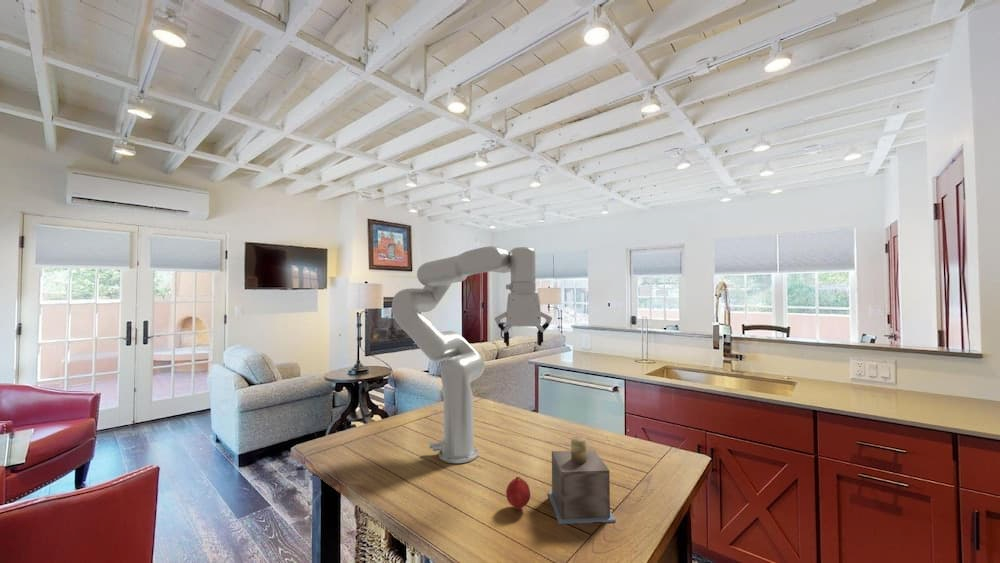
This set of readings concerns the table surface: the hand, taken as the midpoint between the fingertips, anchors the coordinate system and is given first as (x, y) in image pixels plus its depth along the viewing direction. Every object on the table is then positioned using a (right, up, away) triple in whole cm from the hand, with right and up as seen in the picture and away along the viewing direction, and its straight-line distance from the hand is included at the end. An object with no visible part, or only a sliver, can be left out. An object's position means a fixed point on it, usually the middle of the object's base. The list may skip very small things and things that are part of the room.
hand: (523, 345), depth 112 cm
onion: (-3, -36, -22) cm, 42 cm away
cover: (+12, -35, -21) cm, 43 cm away
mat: (+12, -36, -21) cm, 43 cm away
